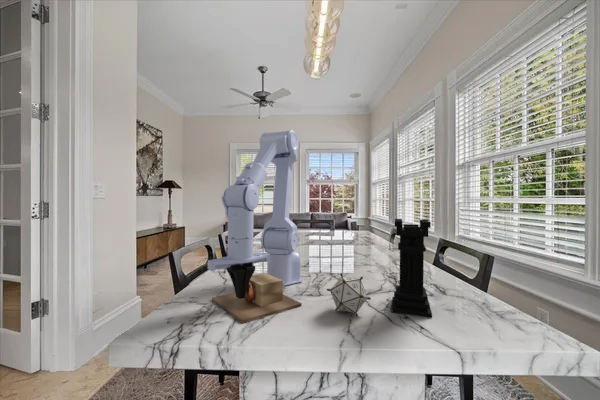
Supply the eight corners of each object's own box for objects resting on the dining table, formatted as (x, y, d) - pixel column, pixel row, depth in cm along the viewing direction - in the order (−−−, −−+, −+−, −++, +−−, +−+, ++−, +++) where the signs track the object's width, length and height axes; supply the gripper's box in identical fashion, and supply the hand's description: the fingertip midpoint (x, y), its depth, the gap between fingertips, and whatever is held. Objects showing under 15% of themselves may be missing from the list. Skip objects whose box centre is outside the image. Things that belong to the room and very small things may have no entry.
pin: (277, 290, 73) (277, 274, 73) (286, 294, 70) (287, 277, 70) (242, 298, 67) (242, 281, 67) (250, 304, 63) (250, 285, 63)
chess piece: (428, 304, 67) (428, 219, 66) (432, 317, 59) (433, 222, 59) (392, 300, 69) (393, 218, 69) (391, 312, 62) (392, 221, 61)
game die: (348, 333, 60) (336, 305, 54) (328, 306, 67) (315, 278, 61) (381, 309, 62) (373, 279, 56) (358, 285, 69) (348, 257, 63)
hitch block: (265, 288, 78) (265, 268, 77) (301, 305, 65) (301, 282, 65) (212, 300, 68) (212, 277, 68) (242, 323, 56) (242, 296, 56)
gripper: (259, 233, 72) (259, 286, 72) (202, 238, 63) (202, 298, 63) (274, 236, 66) (274, 294, 66) (214, 242, 57) (214, 308, 57)
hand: (240, 297), depth 64 cm, fingers closed
